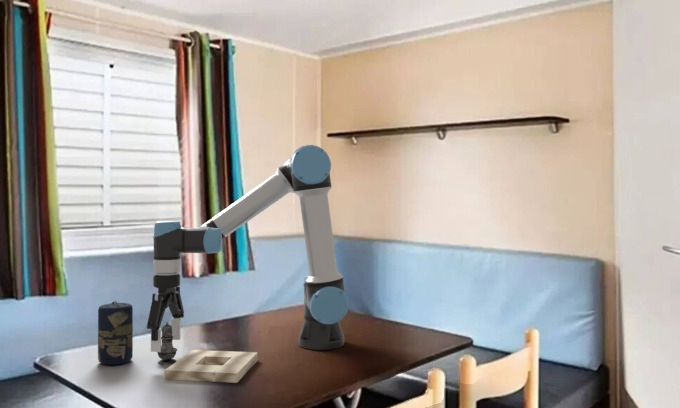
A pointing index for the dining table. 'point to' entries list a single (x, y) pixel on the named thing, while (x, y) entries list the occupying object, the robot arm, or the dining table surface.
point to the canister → (115, 333)
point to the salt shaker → (167, 346)
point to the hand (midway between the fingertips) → (166, 345)
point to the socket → (212, 366)
